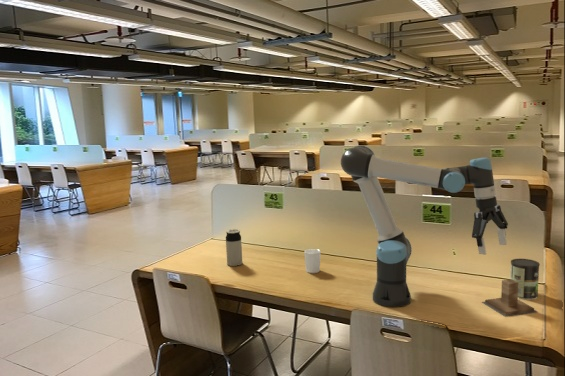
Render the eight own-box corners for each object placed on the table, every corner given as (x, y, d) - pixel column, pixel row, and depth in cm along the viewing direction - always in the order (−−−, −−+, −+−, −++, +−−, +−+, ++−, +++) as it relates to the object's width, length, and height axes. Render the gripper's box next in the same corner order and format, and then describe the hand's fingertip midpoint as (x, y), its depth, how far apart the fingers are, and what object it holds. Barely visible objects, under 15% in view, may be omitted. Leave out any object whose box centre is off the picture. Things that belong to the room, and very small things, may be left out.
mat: (505, 317, 169) (505, 316, 169) (481, 303, 183) (481, 302, 183) (538, 313, 172) (538, 312, 172) (512, 298, 185) (512, 298, 185)
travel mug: (245, 262, 244) (243, 229, 241) (236, 267, 237) (234, 233, 234) (233, 260, 248) (231, 228, 245) (224, 265, 241) (222, 231, 239)
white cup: (302, 272, 225) (302, 253, 224) (307, 267, 232) (307, 248, 231) (318, 274, 222) (317, 254, 221) (323, 269, 229) (322, 249, 228)
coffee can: (538, 293, 190) (540, 260, 188) (537, 302, 181) (538, 267, 179) (510, 289, 195) (512, 257, 193) (507, 297, 187) (509, 264, 185)
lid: (505, 315, 170) (506, 288, 169) (485, 302, 182) (486, 277, 180) (534, 311, 172) (535, 285, 171) (512, 299, 184) (513, 274, 183)
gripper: (474, 204, 172) (482, 259, 174) (512, 190, 185) (519, 241, 187) (457, 204, 179) (465, 257, 181) (495, 190, 192) (502, 240, 194)
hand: (493, 249), depth 184 cm, fingers open, 13 cm apart
